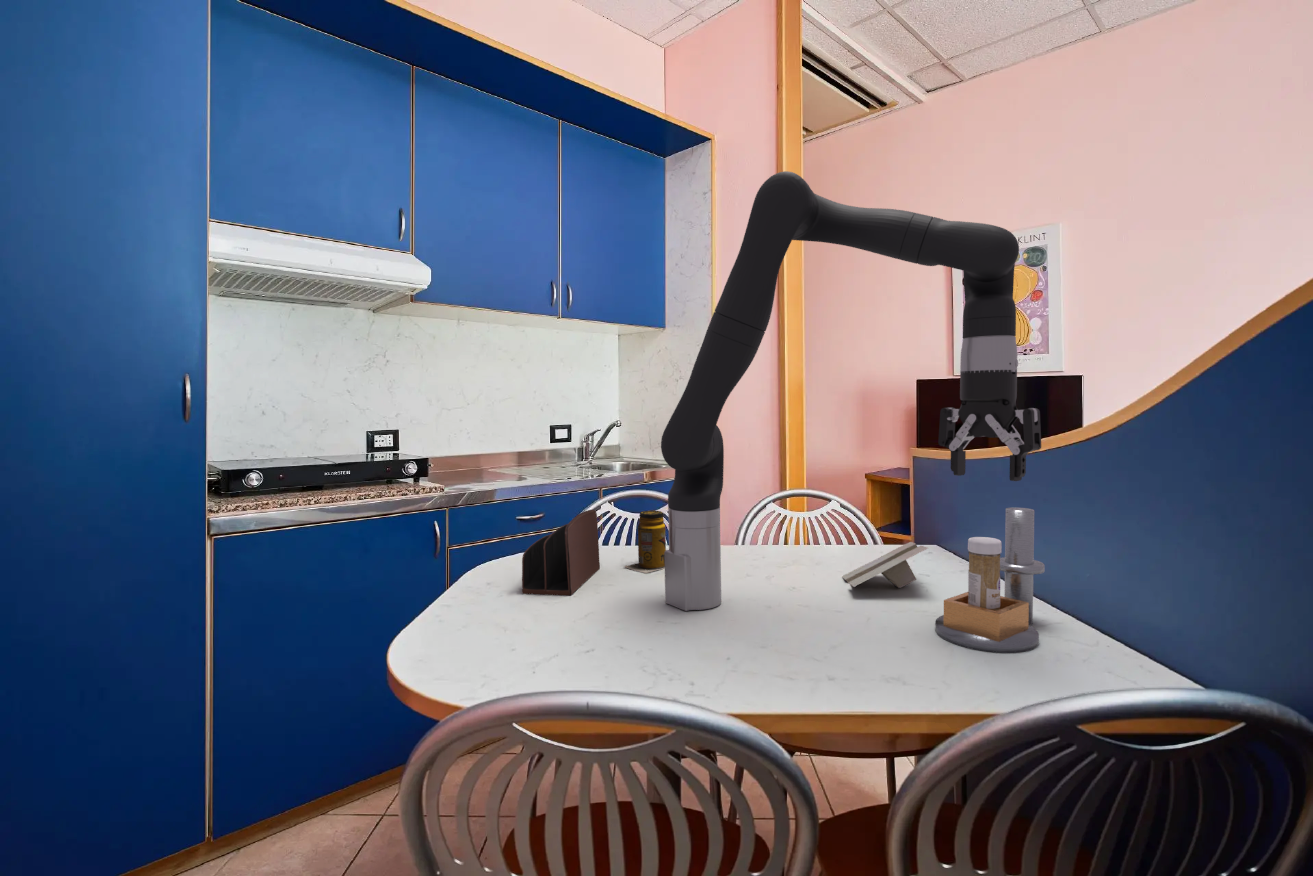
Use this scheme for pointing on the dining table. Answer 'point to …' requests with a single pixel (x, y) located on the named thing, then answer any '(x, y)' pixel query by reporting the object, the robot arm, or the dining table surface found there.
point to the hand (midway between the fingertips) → (986, 477)
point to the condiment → (650, 542)
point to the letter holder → (562, 558)
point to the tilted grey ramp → (888, 567)
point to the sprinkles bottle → (984, 572)
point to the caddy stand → (1016, 608)
